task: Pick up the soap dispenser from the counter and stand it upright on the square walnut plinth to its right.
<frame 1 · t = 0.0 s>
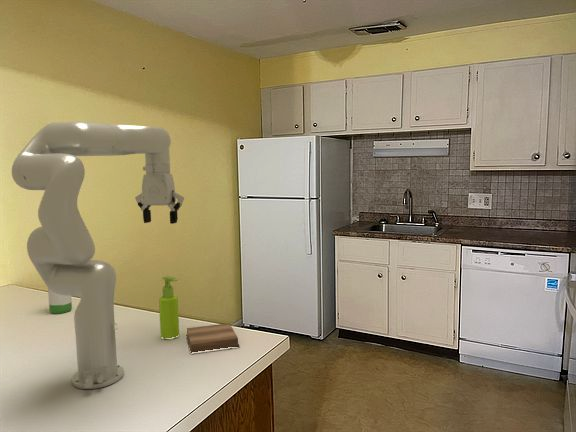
hand: (160, 222, 145), 37 cm above the counter, tool pointing down, fingers open, 9 cm apart
soap dispenser: (171, 337, 146), on the counter
wine bottle: (61, 311, 174), on the counter
saucer: (102, 330, 153), on the counter
plinth: (211, 342, 141), on the counter
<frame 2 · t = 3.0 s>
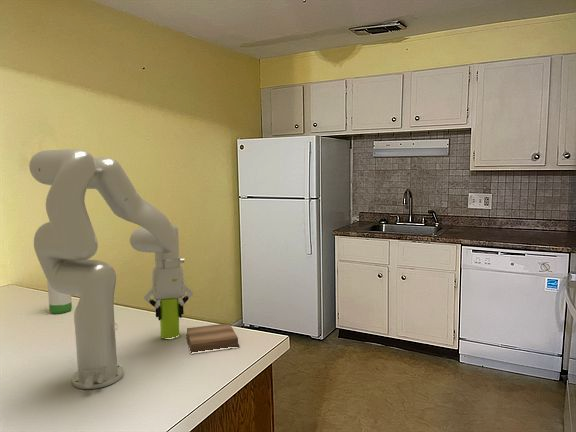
hand: (169, 317, 145), 7 cm above the counter, tool pointing down, fingers closed on soap dispenser, 5 cm apart
soap dispenser: (171, 337, 146), on the counter, touching gripper
everything else where it was.
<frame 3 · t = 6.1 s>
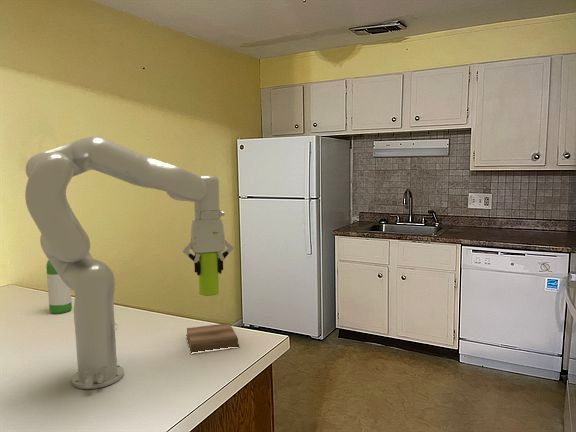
hand: (209, 273, 138), 22 cm above the counter, tool pointing down, fingers closed on soap dispenser, 5 cm apart
soap dispenser: (210, 294, 139), point 16 cm above the counter, touching gripper
everything else where it was.
when the fingers open (10 cm above the counter, at t = 9.1 s): soap dispenser stays where it is, resting on plinth.
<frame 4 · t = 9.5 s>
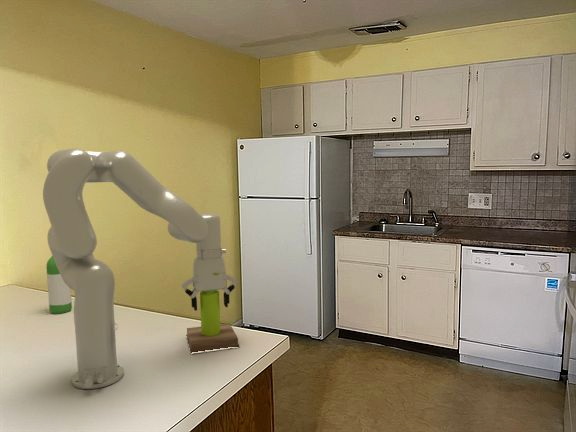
hand: (210, 307, 140), 11 cm above the counter, tool pointing down, fingers open, 9 cm apart
soap dispenser: (212, 333, 141), point 3 cm above the counter, touching plinth
everything else where it was.
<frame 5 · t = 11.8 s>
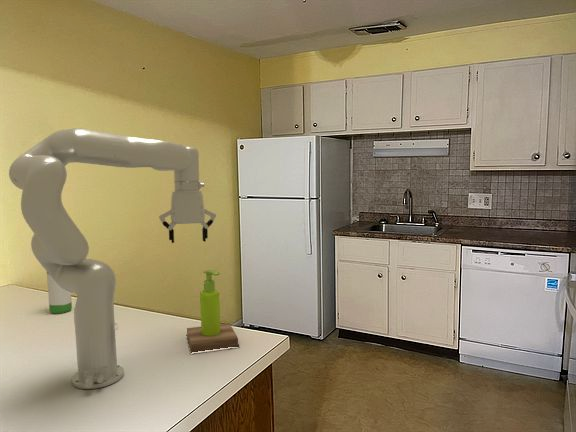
hand: (188, 241, 140), 32 cm above the counter, tool pointing down, fingers open, 9 cm apart
nothing on the counter moved.
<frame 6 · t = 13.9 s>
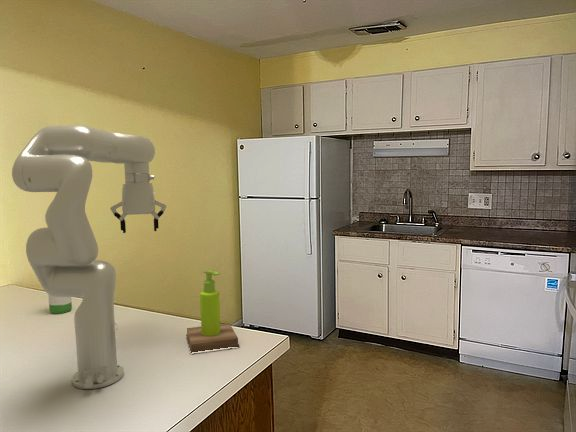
hand: (140, 231, 146), 34 cm above the counter, tool pointing down, fingers open, 9 cm apart
nothing on the counter moved.
at the end: soap dispenser 0.1 cm from the plinth (horizontally); soap dispenser touching plinth; soap dispenser tilted 0° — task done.
